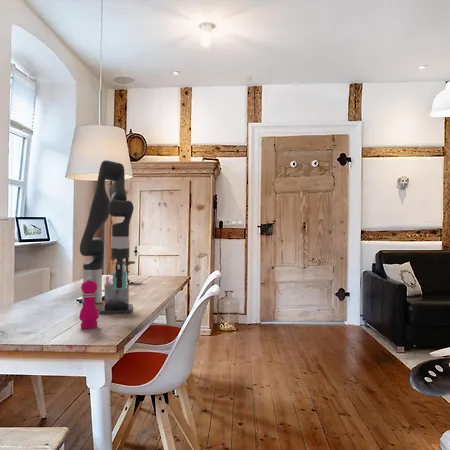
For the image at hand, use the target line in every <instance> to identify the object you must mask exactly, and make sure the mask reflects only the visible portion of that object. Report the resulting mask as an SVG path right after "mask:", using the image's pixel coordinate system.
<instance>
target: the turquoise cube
mask: <svg viewBox="0 0 450 450" xmlns="http://www.w3.org/2000/svg"><path fill="white" fill-rule="evenodd" d="M118 275H121V273H118ZM122 277H123V278H122V288H117V279H116V273H115V270H114V271H113V272H112V282H113V290H118V289H126V288H127V271H126V270H125V271H124V273H123V274H122Z"/></svg>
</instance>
